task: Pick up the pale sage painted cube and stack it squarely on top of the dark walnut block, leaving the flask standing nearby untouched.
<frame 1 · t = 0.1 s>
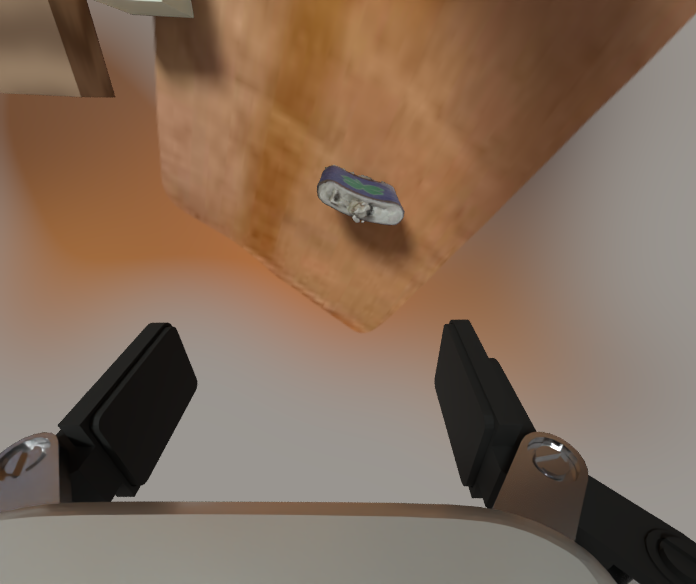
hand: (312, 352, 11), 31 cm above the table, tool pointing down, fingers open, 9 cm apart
walnut block: (47, 35, 31), on the table
flask: (358, 184, 39), on the table
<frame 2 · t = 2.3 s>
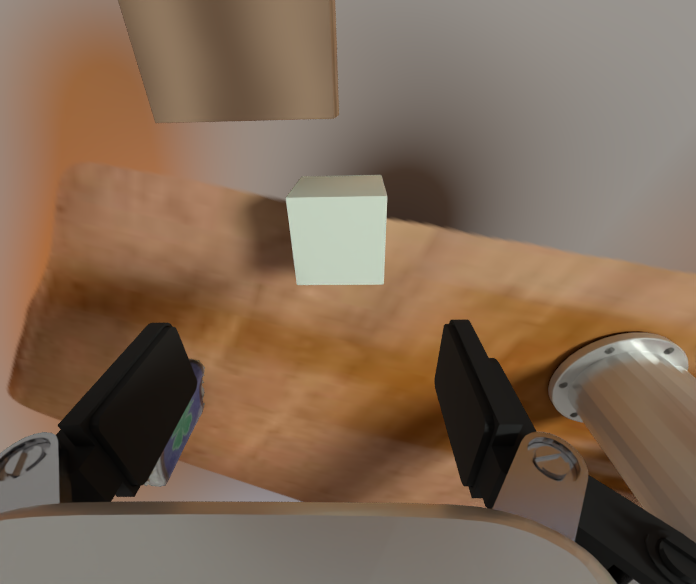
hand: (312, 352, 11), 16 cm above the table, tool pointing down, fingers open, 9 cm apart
walnut block: (253, 22, 19), on the table
flask: (193, 385, 36), on the table
sage block: (342, 214, 25), on the table
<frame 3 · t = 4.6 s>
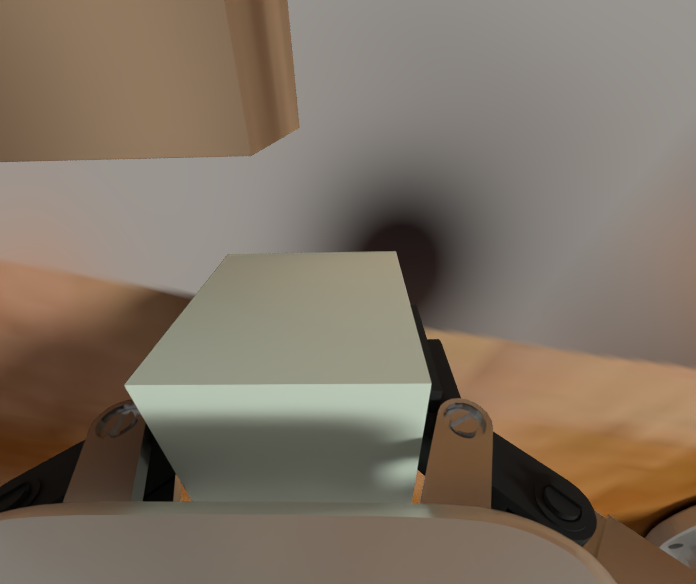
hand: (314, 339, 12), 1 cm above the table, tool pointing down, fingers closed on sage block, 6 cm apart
sage block: (317, 320, 13), on the table, touching gripper
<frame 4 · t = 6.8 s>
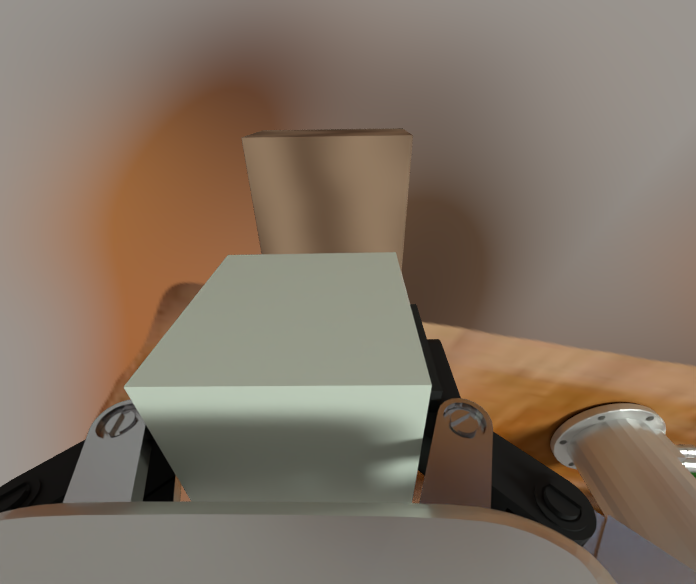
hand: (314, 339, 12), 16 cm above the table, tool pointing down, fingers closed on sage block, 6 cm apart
walnut block: (334, 199, 25), on the table
sage block: (317, 320, 13), point 15 cm above the table, touching gripper
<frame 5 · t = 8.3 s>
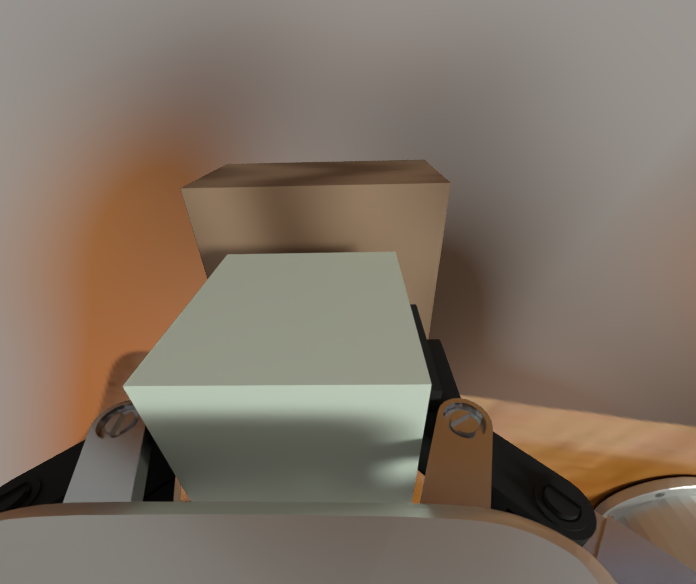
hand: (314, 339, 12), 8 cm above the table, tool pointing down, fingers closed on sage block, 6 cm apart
walnut block: (330, 252, 18), on the table
sage block: (317, 320, 13), point 7 cm above the table, touching gripper
when the fingers open (7 cm above the table, at t = 9.3 s): sage block stays where it is, resting on walnut block.
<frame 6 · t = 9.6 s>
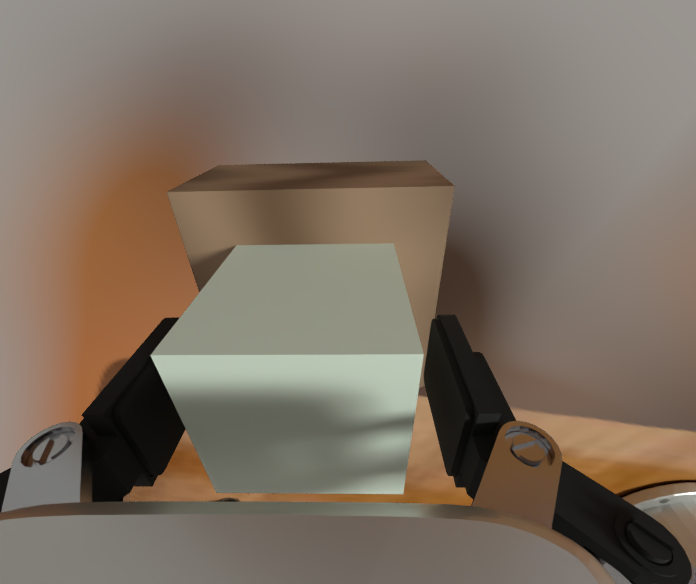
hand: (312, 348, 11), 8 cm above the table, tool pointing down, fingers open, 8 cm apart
walnut block: (327, 256, 18), on the table
sage block: (319, 308, 13), point 5 cm above the table, touching walnut block
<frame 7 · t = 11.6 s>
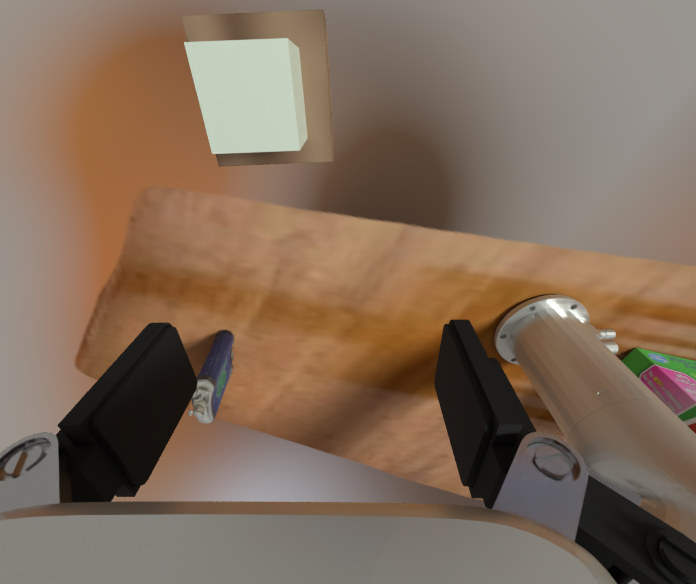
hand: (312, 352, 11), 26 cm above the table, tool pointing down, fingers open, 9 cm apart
walnut block: (276, 95, 29), on the table
flask: (225, 351, 47), on the table
sage block: (265, 97, 25), point 5 cm above the table, touching walnut block
game box: (672, 368, 51), on the table
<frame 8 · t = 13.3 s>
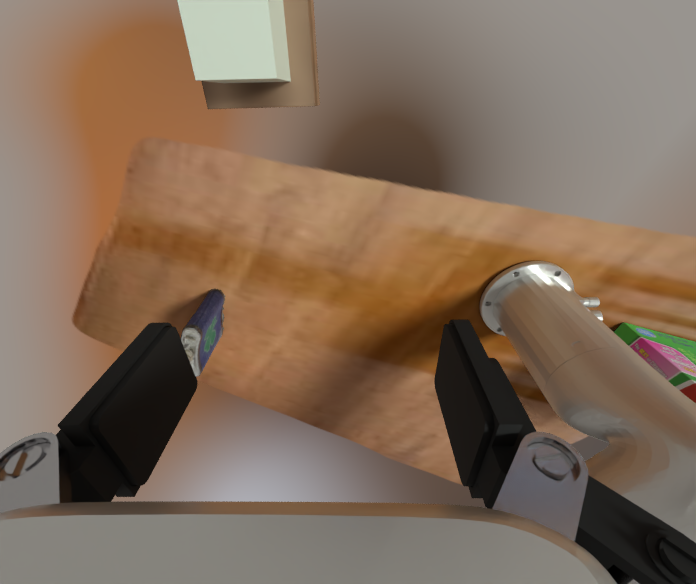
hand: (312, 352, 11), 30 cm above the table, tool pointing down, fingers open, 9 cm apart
walnut block: (265, 46, 31), on the table
flask: (216, 312, 48), on the table
sage block: (251, 39, 26), point 5 cm above the table, touching walnut block
game box: (662, 347, 51), on the table
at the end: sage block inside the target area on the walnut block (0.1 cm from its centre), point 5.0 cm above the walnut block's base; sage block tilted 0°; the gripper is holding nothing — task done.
